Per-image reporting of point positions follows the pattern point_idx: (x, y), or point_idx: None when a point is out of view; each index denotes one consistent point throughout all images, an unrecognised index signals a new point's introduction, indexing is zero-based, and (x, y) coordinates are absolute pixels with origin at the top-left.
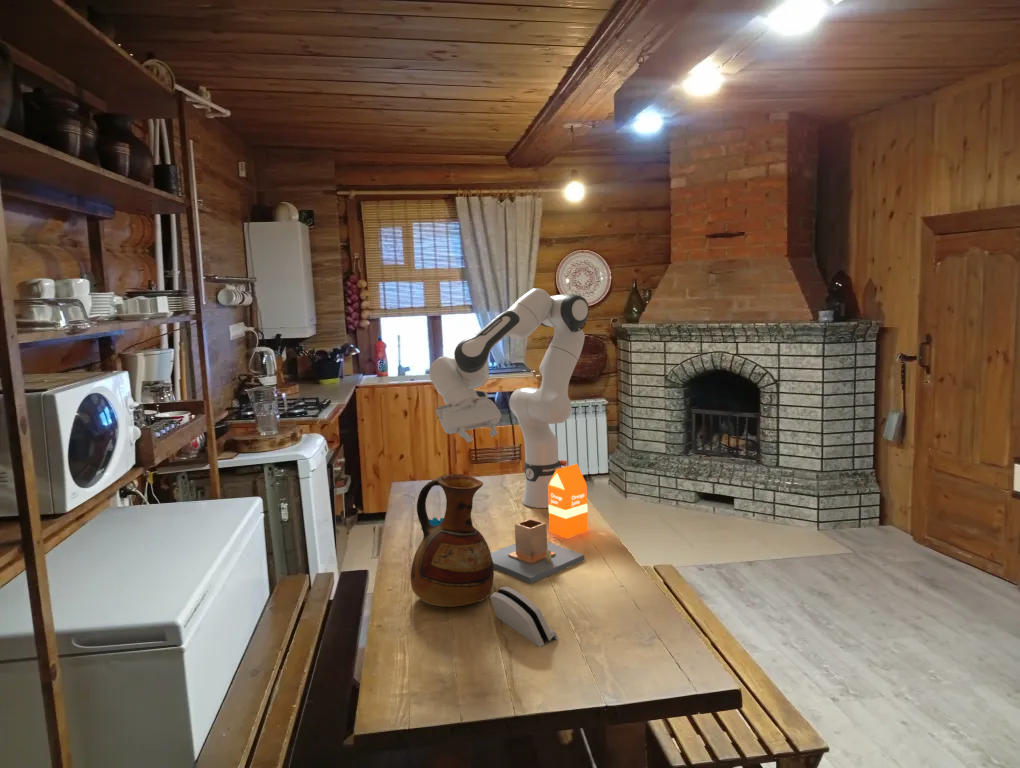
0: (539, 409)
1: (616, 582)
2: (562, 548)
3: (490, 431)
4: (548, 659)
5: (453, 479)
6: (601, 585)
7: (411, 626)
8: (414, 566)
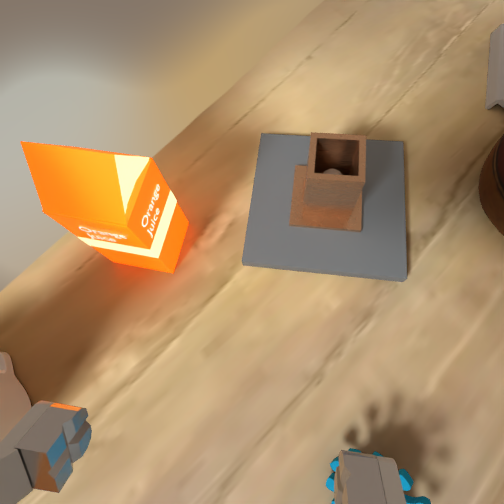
0: None
1: (304, 67)
2: (260, 176)
3: (52, 476)
4: None
5: None
6: (326, 75)
7: None
8: None
